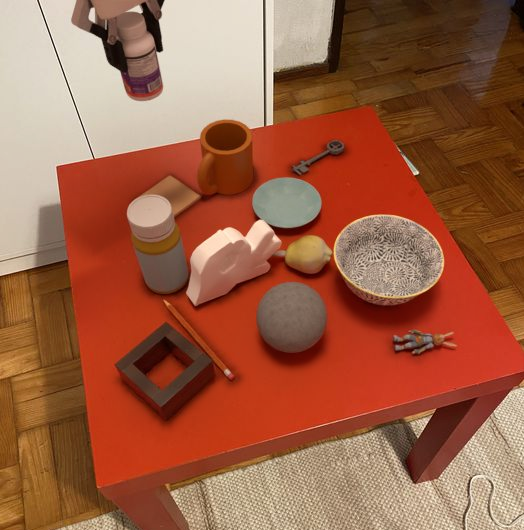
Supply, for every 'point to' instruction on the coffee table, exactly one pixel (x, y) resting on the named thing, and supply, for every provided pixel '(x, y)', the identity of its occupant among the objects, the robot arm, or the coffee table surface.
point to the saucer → (286, 202)
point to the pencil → (199, 341)
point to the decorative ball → (291, 317)
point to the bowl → (388, 259)
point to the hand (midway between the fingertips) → (136, 56)
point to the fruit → (307, 254)
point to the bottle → (158, 244)
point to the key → (329, 150)
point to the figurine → (421, 341)
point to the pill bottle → (139, 58)
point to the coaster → (174, 194)
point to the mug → (225, 158)
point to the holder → (151, 354)
